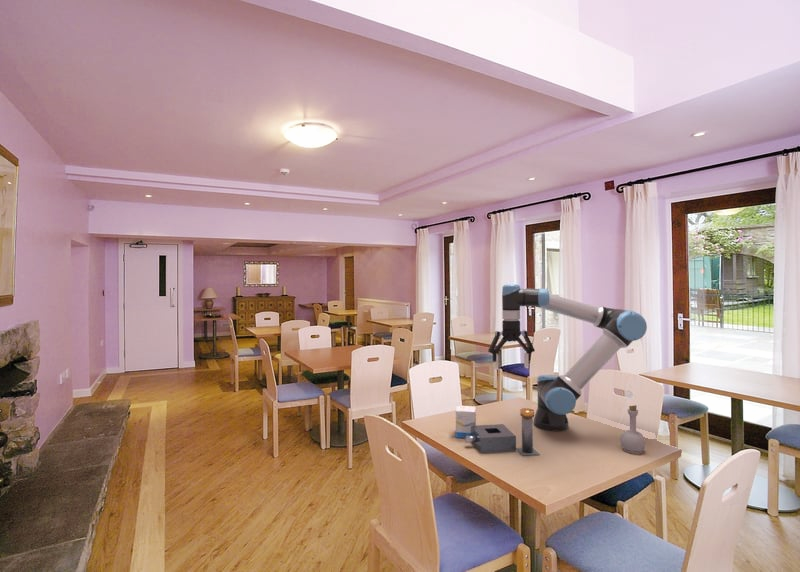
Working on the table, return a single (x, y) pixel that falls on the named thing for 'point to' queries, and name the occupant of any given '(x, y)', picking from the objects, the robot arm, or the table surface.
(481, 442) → the block
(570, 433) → the table surface
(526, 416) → the grey cylinder with cap
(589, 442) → the table surface
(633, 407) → the potion bottle
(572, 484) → the table surface
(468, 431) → the ink box
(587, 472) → the table surface
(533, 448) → the mat
